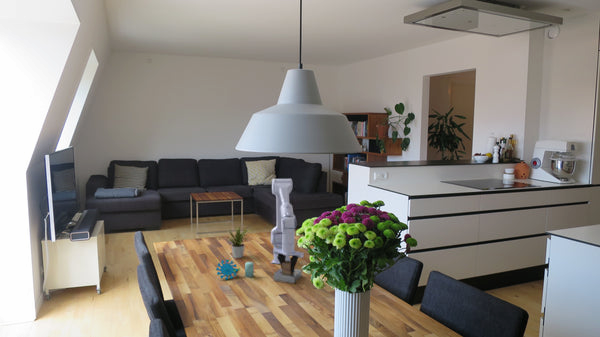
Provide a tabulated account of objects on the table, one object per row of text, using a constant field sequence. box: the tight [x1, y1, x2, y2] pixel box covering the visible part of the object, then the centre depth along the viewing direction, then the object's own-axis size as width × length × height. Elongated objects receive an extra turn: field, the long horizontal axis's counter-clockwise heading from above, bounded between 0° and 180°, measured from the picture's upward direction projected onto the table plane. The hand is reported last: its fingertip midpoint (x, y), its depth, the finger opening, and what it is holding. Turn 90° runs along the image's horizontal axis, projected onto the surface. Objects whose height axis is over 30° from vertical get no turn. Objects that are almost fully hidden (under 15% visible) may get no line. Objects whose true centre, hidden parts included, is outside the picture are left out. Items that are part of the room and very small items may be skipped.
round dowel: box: [244, 261, 255, 278], centre depth 206 cm, size 4×4×6 cm
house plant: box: [227, 226, 251, 259], centre depth 232 cm, size 14×14×16 cm
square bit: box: [282, 260, 293, 274], centre depth 203 cm, size 4×4×6 cm
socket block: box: [273, 267, 303, 284], centre depth 204 cm, size 10×10×3 cm
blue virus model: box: [215, 259, 241, 281], centre depth 205 cm, size 11×6×10 cm
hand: (287, 270), depth 203 cm, fingers closed on square bit, 4 cm apart
